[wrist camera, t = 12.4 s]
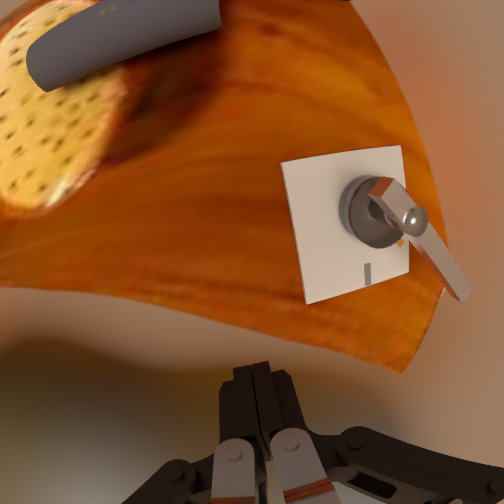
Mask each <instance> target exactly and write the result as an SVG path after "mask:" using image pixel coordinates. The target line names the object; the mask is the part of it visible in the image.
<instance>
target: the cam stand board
mask: <svg viewBox="0 0 504 504" xmlns="http://www.w3.org/2000/svg"><path fill="white" fill-rule="evenodd" d="M280 166H281V170H282V175H283V180H284V185H285V190H286V195H287V200H288V205H289V211H290V216H291V221H292V227H293V232H294V238H295V243H296V249H297V255H298V261H299V267H300V273H301V279H302V285H303V292H304V298H305V302H306V304H310V303H314V302H317V301H321V300H324V299H328V298H331V297H334V296H338V295H341V294H344V293H347V292H351V291H354V290H357V289H360V288H363V287H366V286H369V285H372V284H376V283H379V282H382V281H384V280H387V279H390V278H393V277H396V276H399V275H402V274H405V273H408V272H409V239H408V238H407V237H406V236H405V235H403V236H402V237H401V239H400V240H399V241H398V242H396V243H395V244H393V245H392V246H389V247H387V248H382V249H376V248H372V247H369V246H368V245H366V244H364V243H363V242H361V241H360V240H358V239H356V238H355V237H353V236H352V235H350V234H349V233H348V232H347V231H346V229H345V228H344V226H343V224H342V221H341V218H340V201H341V198H342V195H343V193H344V191H345V189H346V188H347V186H348V185H349V184H350V183H351V182H352V181H353V180H355V179H356V178H358V177H361V176H365V175H373V176H380V177H381V176H383V177H390V178H395V179H396V180H397V182H399V183H400V184H401V185H402V186H403V187H404V188H405V190H406V185H405V176H404V168H403V160H402V153H401V146H400V145H396V146H386V147H377V148H369V149H361V150H353V151H346V152H339V153H333V154H326V155H320V156H314V157H308V158H303V159H297V160H292V161H286V162H281V163H280Z"/></svg>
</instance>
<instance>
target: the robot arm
mask: <svg viewBox="0 0 504 504" xmlns="http://www.w3.org/2000/svg"><path fill="white" fill-rule="evenodd" d="M347 1H351V0H347ZM233 375H234V380H232V381H226V382H223V384H222V386H221V388H220V390H219V410H220V411H219V423H220V443H219V446H218V447H217V448H216V450H215V452H214V453H213V454H212V455H210V456H209V457H207V458H205V459H202V460H199V461H196V462H194V463H189V462H188V461H186V460H181V459H175V460H171V461H168V462H167V463H165V464H164V465H163V466H162V467H161V468H160V469H159V470H158V471H157V472H156V473H155V474H154V475H152V477H150V478H149V479H148V480H147V481H146V482H145V483H144V484H143V485H142V486H141V487H140V488H138V490H136V491H135V492H134V493H133V494H132V495H131V496H130V497H129V498H128V499H126V500H125V501H124V502H123V503H122V504H269V494H268V479H267V472H266V466H265V462H267V461H271V458H270V455H271V457H272V460H274V463H275V466H276V470H277V473H278V477H279V480H280V483H281V487H282V490H283V493H284V499H285V502H286V504H341V502H340V499H339V497H338V495H337V492H336V490H335V488H334V486H333V485H332V483H331V482H336V481H338V482H340V483H341V484H343V485H345V486H347V487H349V488H352V489H354V490H356V491H358V492H360V493H363V494H365V495H367V496H369V497H372V498H374V499H377V500H379V501H381V502H384V503H387V504H496V503H498V502H499V501H501V500H502V499H504V468H502V467H495V466H490V465H485V464H480V463H476V462H472V461H467V460H463V459H459V458H455V457H452V456H448V455H444V454H441V453H437V452H434V451H431V450H427V449H424V448H421V447H418V446H415V445H412V444H409V443H406V442H403V441H401V440H398V439H395V438H392V437H389V436H387V435H384V434H382V433H379V432H376V431H374V430H371V429H369V428H366V427H362V426H357V427H351V428H348V429H346V430H345V431H344V432H342V433H341V434H340V435H318V434H316V433H313V432H312V431H310V430H309V429H308V428H307V426H306V425H305V422H304V418H303V415H302V412H301V408H300V405H299V402H298V399H297V396H296V392H295V389H294V385H293V382H292V379H291V376H290V375H289V374H288V373H286V371H285V370H279V371H275V372H271V369H270V365H269V361H264V362H260V363H256V364H252V368H251V365H246V366H241V367H236V368H233ZM269 452H270V453H269Z"/></svg>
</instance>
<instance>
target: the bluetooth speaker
mask: <svg viewBox="0 0 504 504" xmlns="http://www.w3.org/2000/svg"><path fill="white" fill-rule="evenodd" d="M219 28H222V23H221V19H220V11H219V0H103V1H101V2H99V3H97V4H94V5H92V6H90V7H88V8H86V9H84V10H82V11H81V12H79V13H77V14H75V15H73V16H72V17H70V18H68V19H66V20H65V21H63V22H62V23H60V24H58V25H57V26H55V27H54V28H52V29H51V30H49V31H48V32H46V33H45V34H44V35H42V36H41V37H40V38H39V39H37V40H36V41H35V42H34V43H33V44H32V45H31V46H30V47H29V49H28V51H27V56H26V63H27V69H28V72H29V74H30V76H31V77H32V79H33V80H34V81H35V83H36V84H37V85H38V86H39V87H40V88H41V89H42V90H43V91H45V92H50V91H52V90H55V89H57V88H60V87H62V86H64V85H66V84H68V83H71V82H73V81H75V80H77V79H79V78H81V77H84V76H86V75H88V74H91V73H93V72H95V71H98V70H100V69H102V68H105V67H107V66H110V65H113V64H116V63H119V62H122V61H124V60H127V59H130V58H132V57H135V56H138V55H140V54H143V53H145V52H147V51H149V50H152V49H155V48H158V47H161V46H164V45H167V44H170V43H173V42H176V41H179V40H182V39H185V38H189V37H192V36H196V35H200V34H203V33H206V32H210V31H213V30H216V29H219Z"/></svg>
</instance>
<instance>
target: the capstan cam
mask: <svg viewBox="0 0 504 504" xmlns="http://www.w3.org/2000/svg"><path fill="white" fill-rule="evenodd" d="M340 218H341V221H342V224H343V226H344V228H345V229H346V231H347V232H348V233H349V234H350V235H352V236H353V237H355V238H356V239H358V240H360V241H361V242H363V243H364V244H366V245H368V246H369V247H372V248H376V249H382V248H387V247H389V246H392V245H393V244H395V243H396V242H398V241H399V240H400V239H401V237H402V236H403V235H405V236H406V237H407V238H408V239H409V241H410V242H411V243H412V244H413V245H414V247H415V248H416V249H417V250H418V252H419V253H420V254H421V255H422V257H423V258H424V259H425V260H426V262H427V263H428V264H429V266H430V267H431V268H432V270H433V271H434V272H435V274H436V275H437V276H438V278H439V279H440V280H441V282H442V283H443V284H444V286H445V287H446V289H447V290H448V291H449V293H450V294H451V296H452V297H454V298H455V299H457V300H458V301H459V302H461V303H463V302H464V300H465V299H466V298H467V296H468V295H469V293H470V291H471V290H472V289H471V287H470V285H469V283H468V281H467V280H466V278H465V276H464V275H463V273H462V271H461V270H460V268H459V266H458V265H457V263H456V261H455V260H454V258H453V257H452V255H451V253H450V252H449V250H448V249H447V247H446V246H445V244H444V243H443V241H442V240H441V238H440V237H439V235H438V234H437V232H436V231H435V230H434V228H433V227H432V225H431V224H430V223H429V221H428V215H427V213H426V211H425V210H424V209H423V208H420V207H418V206H417V205H416V204H415V203H414V201H413V200H412V199H411V198H410V196H409V195H408V193H407V191H406V190H405V188H404V187H403V186H402V185H401V184H400V183H399V182H397V180H396V179H395V178H390V177H383V176H381V177H380V176H373V175H365V176H361V177H358V178H356V179H355V180H353V181H352V182H351V183H350V184H349V185H348V186H347V188H346V189H345V191H344V193H343V195H342V198H341V201H340Z"/></svg>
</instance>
